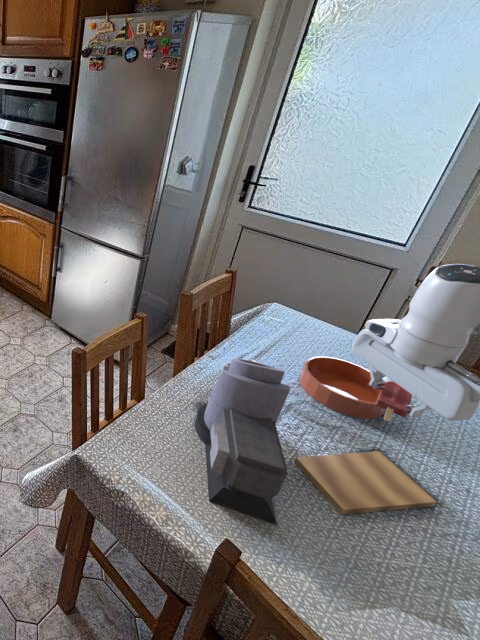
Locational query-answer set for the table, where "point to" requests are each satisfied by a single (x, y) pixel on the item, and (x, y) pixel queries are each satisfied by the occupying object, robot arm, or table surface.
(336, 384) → the terracotta plant saucer
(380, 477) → the board
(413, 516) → the table surface
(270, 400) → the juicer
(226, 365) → the lighter
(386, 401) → the popsicle
